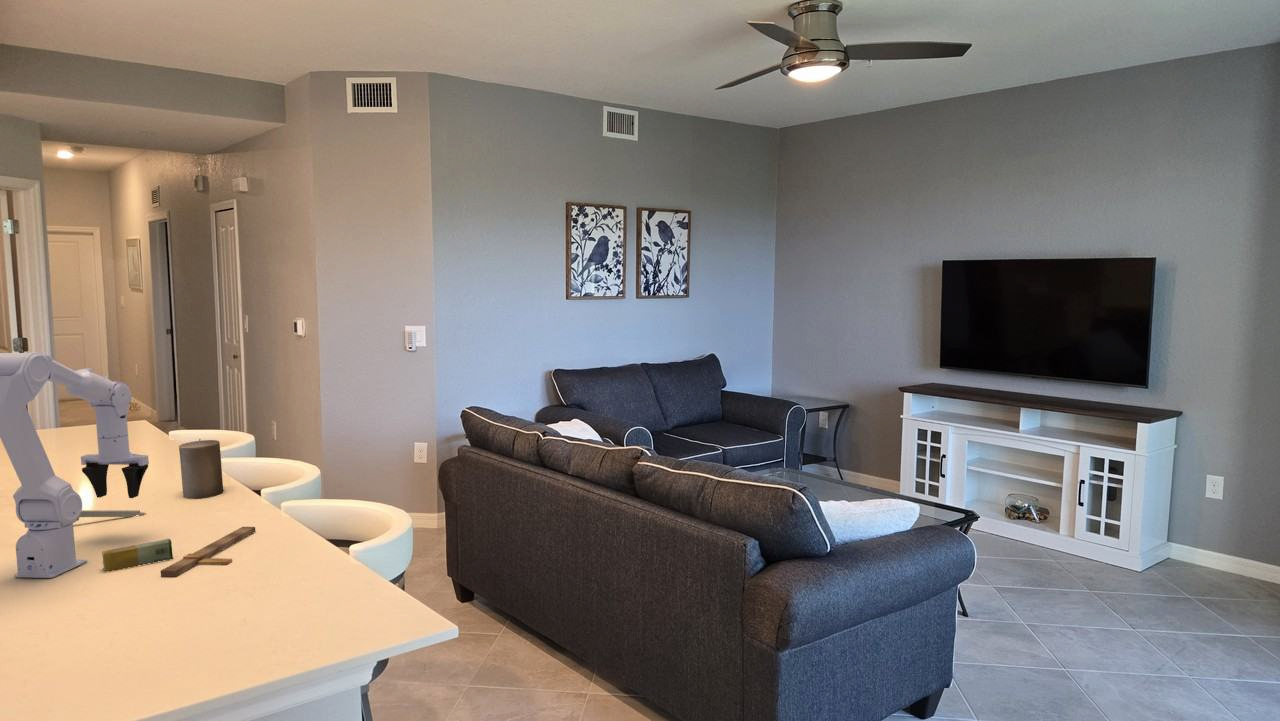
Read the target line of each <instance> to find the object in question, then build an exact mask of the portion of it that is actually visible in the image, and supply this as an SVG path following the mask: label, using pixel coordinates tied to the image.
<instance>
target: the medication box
mask: <svg viewBox="0 0 1280 721" xmlns="http://www.w3.org/2000/svg"><path fill="white" fill-rule="evenodd" d="M172 544H173V543H172V540H171V538H165V539H161V540H156V541H150V542H144V543H141V544H140V543H139V544H134V545H128V546H123V547H119V548H118V547H117V548H113V549H108V550H103V551H102V552H101V553H102V555H101V556H102V565H103V567H102V570H103V571H104V573H107V572H106V571H109V572H113V571H112V570H115V571H118V569H120V570H124V569H123V568H125V569H129V568H128V567H130V568H135V567H134V566H136V567H139V566H138V565H141V566H144V565H143V564H146V565H149V564H148V563H151V564H154V563H153V562H157V563H159V562H158V561H162V562H164V561H163V560H167V561H171V560H170V559H172V560H173V559H174V555H173V545H172Z"/></svg>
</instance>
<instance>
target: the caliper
mask: <svg viewBox="0 0 1280 721" xmlns="http://www.w3.org/2000/svg"><path fill="white" fill-rule="evenodd" d="M143 514H146V515H147V513H146V512H145V511H142V512H141V510H140V509H139V510H138V509H137V510H136V509H134V510H133V509H131V510H130V509H129V510H128V509H127V510H126V509H125V510H122V509H121V510H120V509H119V510H117V509H115V510H114V509H113V510H112V509H110V510H109V509H105V510H103V509H102V510H99V509H98V510H94V509H93V510H92V509H90V510H88V509H87V510H85V509H82V511H81V513H80V515H79V517H78V518H77V519H76V522H77V521H79V520H80V518H130V517H129V516H136V515H140V516H144V515H143ZM136 517H137V516H136Z"/></svg>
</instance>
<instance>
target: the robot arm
mask: <svg viewBox="0 0 1280 721" xmlns="http://www.w3.org/2000/svg"><path fill="white" fill-rule="evenodd" d="M47 381H48V382H52V383H55V384H57V385H60V386H63V387H65V390H66V392H67V393H68V394H69V395H71V396H74V397H75V398H76V397H77V398H78V399H82V400H84V401H87V403H88V405H89V406H90V407H91V408H94V413H95V416H94V417H95V425H96V426H95V427H96V436H97V450H98V453H96V454H95V453H94V454H84V455H81V456H80V461H81V462H80V464H81V466H85V467H82V468H81V471H82V473H83V474H84V475H85V477H86V478H87V479H88V481H89V482H90V484H91V486H92V488H93V491H94V493H95V495H96V498H103V497H105V496H107V494H108V493H107V492H108V484H107V479H108V478H107V477H108V470H109V466H110V465H113V466H114V465H119V466H120V465H122V466H123V465H124V466H125V467H121V472H122V473H123V475H124V478H125V482H126V488H127V495H128V498H129V499H134V498H136V497H139V494H140V488H141V484H142V482H143V478H144V476H145V473H146V471H147V470H148V467H149V462H150V461H149V455H148V454H147V455H146V454H139V453H132V452H131V451H130V442H129V430H128V428H129V427H128V419H127V418H128V416H127V415H128V414H129V412H130V403H131V400H132V396H133V394H132V393H133V392H131V389H130V387H129V386H128V385H127V384H125V383H124V382H122V381H112V380H111V379H109V377H108V376H105V375H99V374H96V373H94V369H92V368H83V369H82V368H80V369H78V370H77V369H76V370H74V369H71V368H70V367H68V366H66V365H64V364H62V363H60V362H58V361H57V360H54V359H53V357H52V356H51V355H50V354H49V355H48V354H44V353H43V352H39V351H35V352H34V351H32V352H0V440H1V443H2V445H3V447H4V449H5V451H6V453H7V456H8V458H9V460H10V463H11V465H12V468H13V470H14V471H15V474H16V476H17V478H18V480H19V482H20V485H21V486H19V487H18V488H17V490H16V491H15V492H14V494H13V495H12V497H13V499H14V502H15V503H14V504H15V514H16V517H17V519H18V520H19V521H20V522H21V523H24V524H23V525H24V528H25V529H26V528H27V531H26V533H25V534H23V535H21V536H20V537H19V538H18V539H17V541H16V543H15V555H16V556H15V558H16V567H17V573H15V574H13V575H14V576H13V577H14V578H36V579H40V578H42V579H53V578H54V577H57V576H59V575H61V574H63V573H65V572H68V571H70V570H72V569H74V568H77V567H78V566H80V565H83V564H85V563H88V559H86V558H77V556H76V541H75V533H74V532H75V531H74V524H75V523H76V522H77V521H76V519H77V518H78V517H79V515H80V513H81V511H82V510H83V501H82V498H81V496H80V494H79V493H78V492H76V491H75V490H74V489H73V486H72V484H71V483H70V482H68V481H66V480H65V479H62V478H61V477H59V476H58V475H56V473H55V471H54V470H53V467H52V465H51V462H50V459H49V457H48V455H47V453H46V451H45V448H44V445H43V444H42V441H41V439H40V436H39V434H38V431H37V429H36V427H35V425H34V422H33V420H32V418H31V416H30V413H29V410H28V408H27V406H28V404H29V403H30V402H32V401H34V399H35V398H36V397H37V395H38V394H39V392H40V391H41V389H43V387H44V386H45V384H46V383H47ZM126 465H127V466H126ZM79 518H80V517H79Z"/></svg>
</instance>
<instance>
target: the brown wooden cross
mask: <svg viewBox="0 0 1280 721" xmlns="http://www.w3.org/2000/svg"><path fill="white" fill-rule="evenodd" d="M253 532H255V533H256V527H255V526H241V527H239V528H237V529H235V530H234V531H232V532H230V533H228V534H226V535H224V536H222V537H221V538H219V539H216V540H215V541H214V542H211V543H210V544H208V545H205V546H204V547H202V548H200V549H198V550H196V551H194V552H192V553H188V554H185V555H183V557H182V558H181V559H179V560H178V561H176V562H174V563H172V564H171V565H168V566H166V567H165V568H163V569H160V577H161V578H177V577H178V576H180V575H182V574H184V573H186V572H187V571H189V570H190V568H191V569H192V567H193V568H195V565H196V566H198V565H202V564H215V565H214V566H217V565H216V564H223V565H222V566H228V565H229V564H231V563H233V558H223V557H222V558H220V557H219V558H218V557H217V558H214V556H216V555H217V554H219V553H221V552H222V550H223V549H225V548H226V549H228V548H230V547H231V546H230V545H232V544H233V545H235V544H237V543H238V542H237V541H239V540H240V541H242V540H243V538H244V539H246V538H247V537H246V536H248V535H249V536H251V535H253V534H254V533H253ZM252 533H253V534H252ZM250 534H251V535H250ZM249 536H248V537H249ZM245 537H246V538H245ZM241 539H242V540H241ZM240 541H239V542H240ZM236 542H237V543H236ZM234 543H235V544H234ZM233 545H232V546H233ZM229 546H230V547H229ZM227 547H228V548H227ZM226 549H225V550H226ZM220 551H221V552H220ZM223 551H224V550H223ZM218 552H219V553H218ZM216 553H217V554H216ZM215 554H216V555H215ZM213 555H214V556H213ZM211 556H212V557H211ZM209 557H210V558H209ZM230 562H231V563H230ZM228 563H229V564H228ZM197 564H198V565H197ZM185 571H186V572H185ZM183 572H184V573H183Z"/></svg>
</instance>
